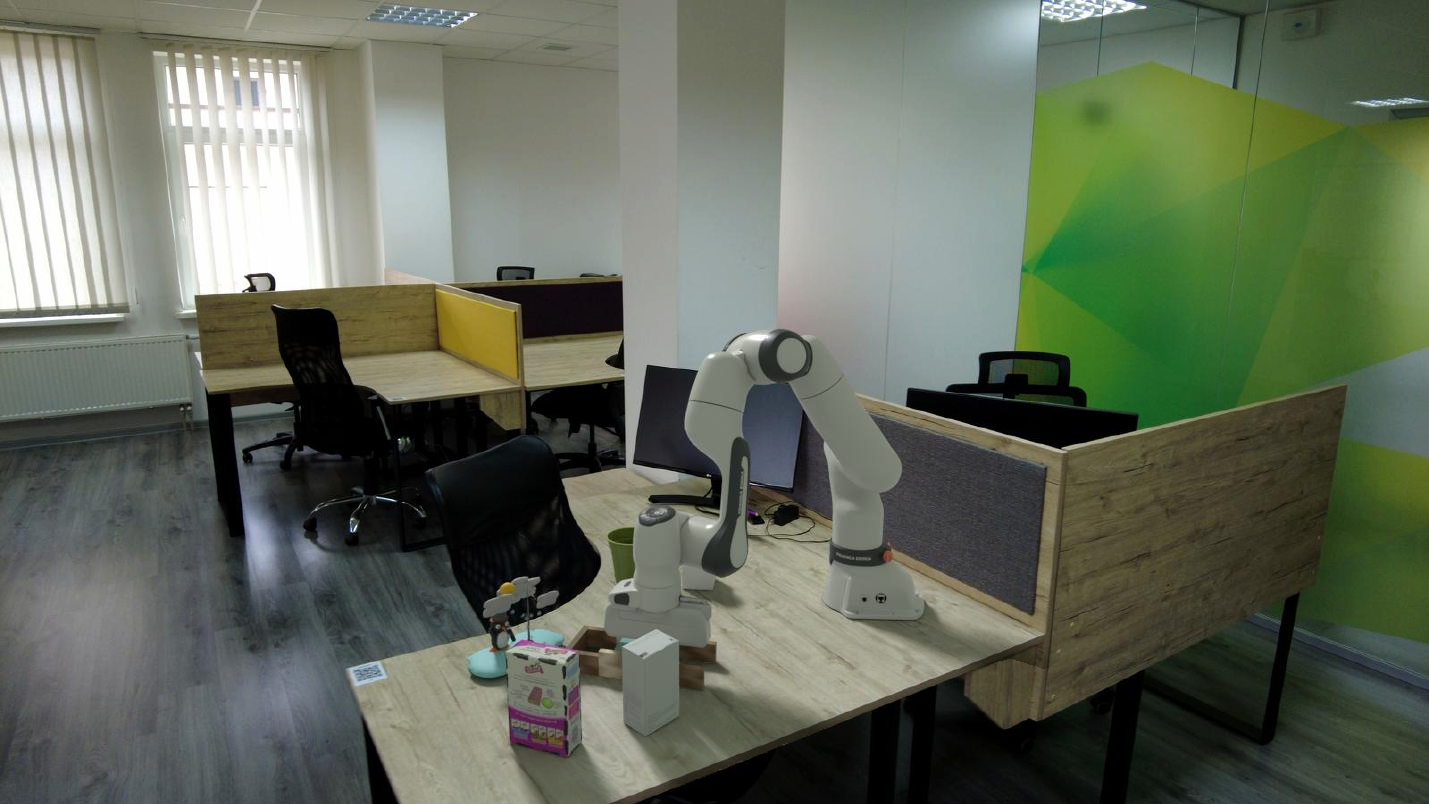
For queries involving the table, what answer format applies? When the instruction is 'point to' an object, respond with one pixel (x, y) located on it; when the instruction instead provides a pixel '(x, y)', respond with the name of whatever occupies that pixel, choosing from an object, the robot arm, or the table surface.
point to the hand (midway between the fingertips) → (657, 660)
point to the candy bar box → (544, 697)
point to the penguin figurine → (495, 657)
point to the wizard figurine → (752, 505)
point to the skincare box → (650, 681)
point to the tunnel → (608, 662)
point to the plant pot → (622, 552)
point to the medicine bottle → (696, 578)
